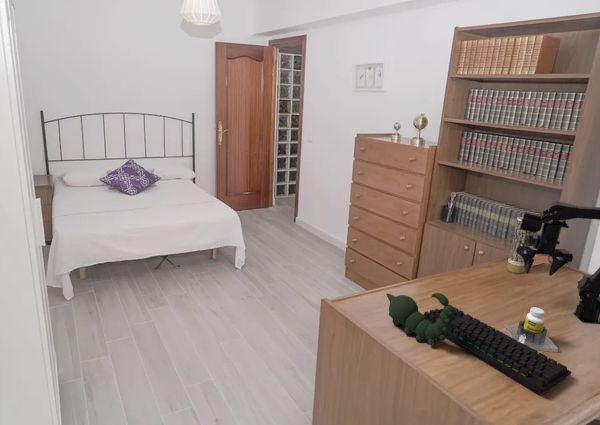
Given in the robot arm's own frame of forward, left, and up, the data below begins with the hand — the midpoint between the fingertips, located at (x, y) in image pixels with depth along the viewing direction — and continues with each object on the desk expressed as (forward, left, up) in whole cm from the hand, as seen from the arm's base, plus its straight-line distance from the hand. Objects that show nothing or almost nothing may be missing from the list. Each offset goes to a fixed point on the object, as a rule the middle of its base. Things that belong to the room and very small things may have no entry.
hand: (538, 274), depth 161 cm
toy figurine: (+50, +28, -13) cm, 58 cm away
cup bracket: (+11, +25, -13) cm, 30 cm away
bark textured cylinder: (-7, -33, -13) cm, 36 cm away
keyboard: (+28, +32, -14) cm, 45 cm away
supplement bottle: (+11, +25, -12) cm, 30 cm away
